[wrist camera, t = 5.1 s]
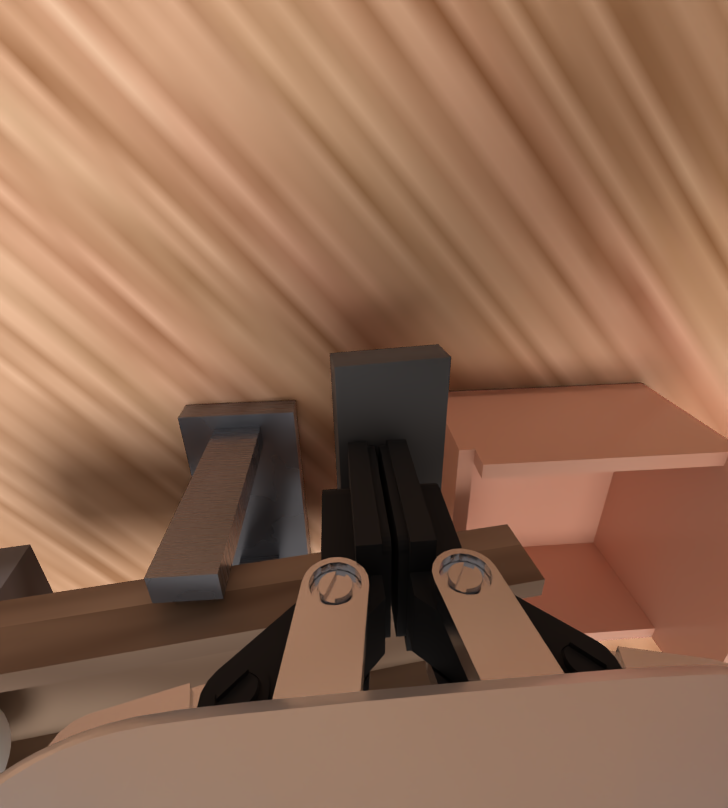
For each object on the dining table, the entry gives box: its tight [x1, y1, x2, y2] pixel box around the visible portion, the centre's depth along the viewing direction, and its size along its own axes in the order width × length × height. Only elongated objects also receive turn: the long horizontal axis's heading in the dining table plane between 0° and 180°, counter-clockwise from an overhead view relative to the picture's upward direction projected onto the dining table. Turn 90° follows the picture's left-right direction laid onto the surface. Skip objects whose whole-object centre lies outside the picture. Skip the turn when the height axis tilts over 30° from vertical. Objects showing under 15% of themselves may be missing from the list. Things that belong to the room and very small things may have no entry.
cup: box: [441, 383, 728, 663], centre depth 19 cm, size 10×10×9 cm
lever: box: [0, 344, 545, 770], centre depth 14 cm, size 13×20×6 cm, turn 91°
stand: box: [144, 400, 311, 603], centre depth 18 cm, size 10×5×10 cm, turn 1°
